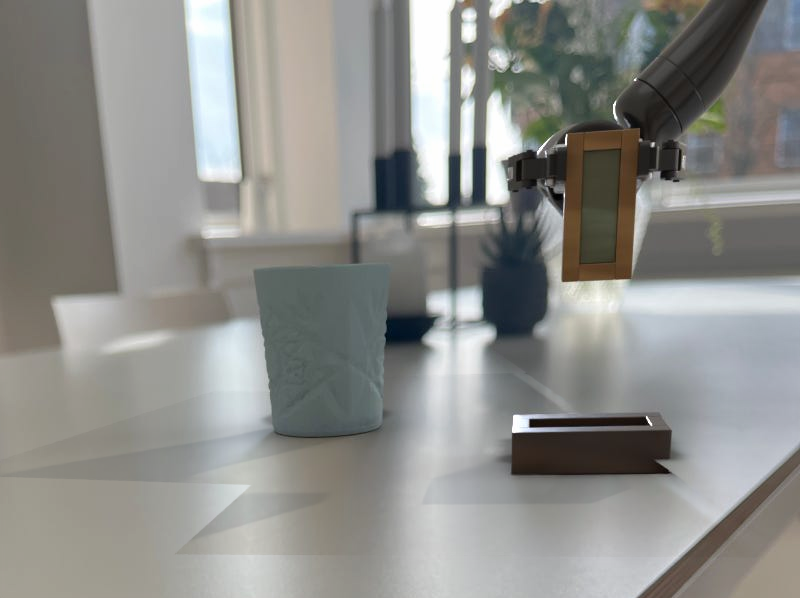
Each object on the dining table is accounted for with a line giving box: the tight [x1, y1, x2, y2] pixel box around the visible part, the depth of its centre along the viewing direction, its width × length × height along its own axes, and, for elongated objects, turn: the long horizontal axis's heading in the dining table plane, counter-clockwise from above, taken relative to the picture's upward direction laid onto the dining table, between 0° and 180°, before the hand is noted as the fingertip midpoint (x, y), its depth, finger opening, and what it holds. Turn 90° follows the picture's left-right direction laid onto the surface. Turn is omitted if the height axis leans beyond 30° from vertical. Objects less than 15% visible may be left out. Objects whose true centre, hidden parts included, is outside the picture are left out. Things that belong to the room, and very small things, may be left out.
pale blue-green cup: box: [252, 262, 391, 438], centre depth 79 cm, size 10×10×12 cm
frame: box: [560, 128, 640, 283], centre depth 76 cm, size 2×5×10 cm, turn 79°
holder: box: [510, 411, 673, 475], centre depth 63 cm, size 6×9×2 cm
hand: (602, 160), depth 72 cm, fingers closed on frame, 5 cm apart
